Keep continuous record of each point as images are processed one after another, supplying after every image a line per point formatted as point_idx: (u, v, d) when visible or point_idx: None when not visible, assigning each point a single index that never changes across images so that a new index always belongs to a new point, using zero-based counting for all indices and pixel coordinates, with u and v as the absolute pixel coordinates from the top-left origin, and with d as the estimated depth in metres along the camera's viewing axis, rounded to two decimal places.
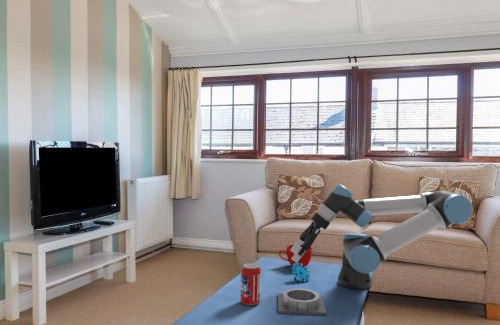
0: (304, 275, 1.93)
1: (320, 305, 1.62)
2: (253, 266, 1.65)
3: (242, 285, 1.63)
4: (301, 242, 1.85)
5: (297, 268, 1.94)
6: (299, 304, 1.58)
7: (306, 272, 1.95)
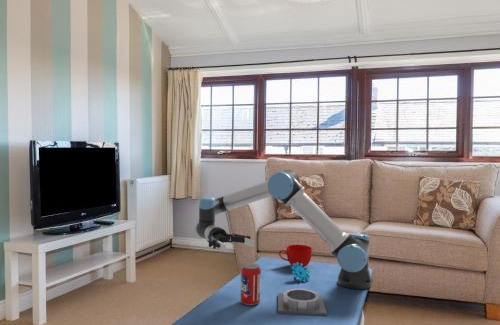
0: (304, 275, 1.93)
1: (320, 305, 1.62)
2: (253, 266, 1.65)
3: (242, 285, 1.63)
4: (245, 240, 1.81)
5: (297, 268, 1.94)
6: (299, 304, 1.58)
7: (306, 272, 1.95)
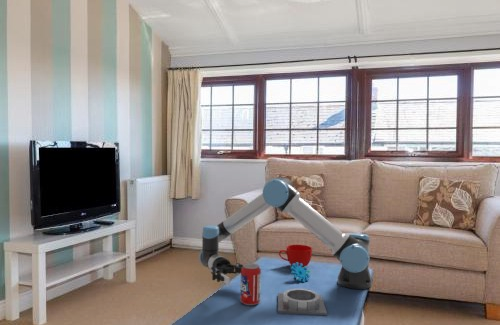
0: (303, 275, 1.94)
1: (320, 305, 1.62)
2: (253, 266, 1.65)
3: (242, 285, 1.63)
4: None
5: (297, 268, 1.95)
6: (299, 304, 1.58)
7: (306, 272, 1.96)
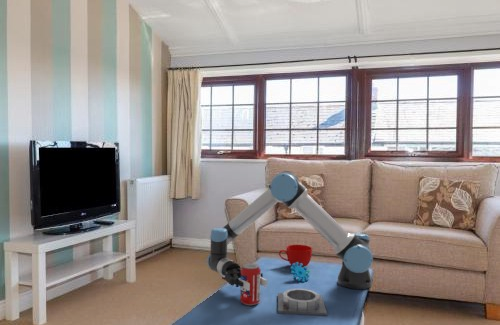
0: (303, 275, 1.94)
1: (320, 305, 1.62)
2: (253, 266, 1.65)
3: None
4: None
5: (296, 268, 1.95)
6: (299, 304, 1.58)
7: (306, 272, 1.96)
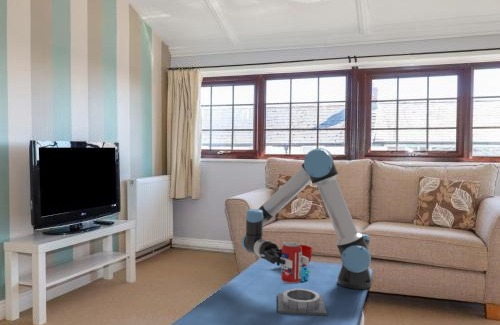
0: (303, 275, 1.94)
1: (320, 305, 1.62)
2: (294, 244, 1.64)
3: None
4: None
5: None
6: (299, 304, 1.58)
7: (305, 272, 1.96)
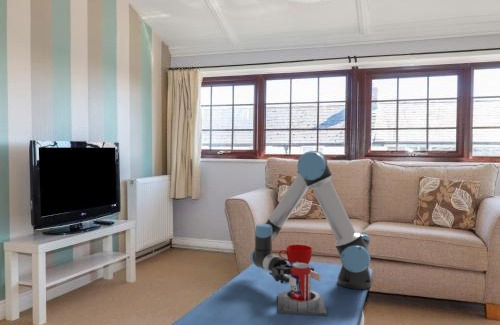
0: None
1: (320, 305, 1.62)
2: (303, 265, 1.63)
3: None
4: None
5: None
6: (299, 304, 1.58)
7: None
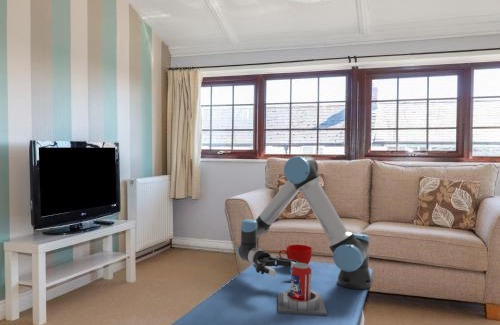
0: None
1: (320, 305, 1.62)
2: (304, 265, 1.63)
3: (293, 285, 1.62)
4: (291, 264, 1.80)
5: None
6: (299, 304, 1.58)
7: None
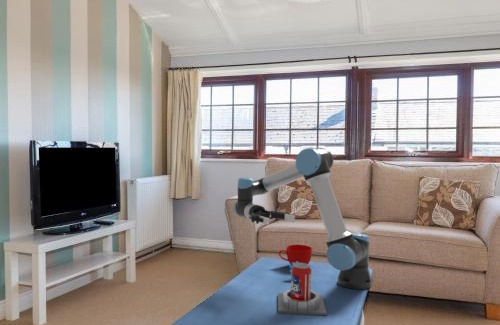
0: None
1: (320, 305, 1.62)
2: (304, 265, 1.63)
3: (293, 285, 1.62)
4: (285, 216, 1.89)
5: None
6: (299, 304, 1.58)
7: None
